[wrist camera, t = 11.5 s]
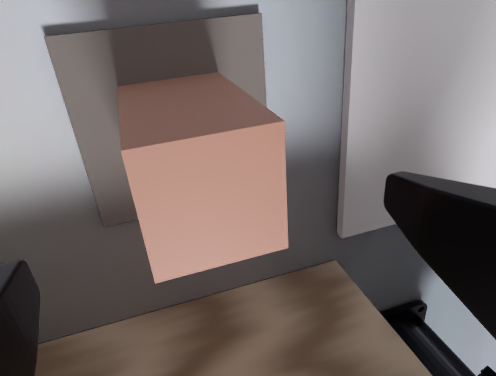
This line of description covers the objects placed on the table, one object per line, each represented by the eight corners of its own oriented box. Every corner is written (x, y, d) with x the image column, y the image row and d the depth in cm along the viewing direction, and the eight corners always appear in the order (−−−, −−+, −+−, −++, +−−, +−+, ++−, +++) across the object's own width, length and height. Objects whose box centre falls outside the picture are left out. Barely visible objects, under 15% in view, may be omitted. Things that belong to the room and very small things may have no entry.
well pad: (258, 12, 15) (261, 13, 15) (268, 187, 19) (270, 189, 19) (45, 36, 13) (43, 36, 13) (104, 224, 17) (104, 227, 17)
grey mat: (659, -245, 15) (677, -253, 15) (524, 182, 25) (532, 186, 25) (359, -270, 12) (370, -282, 12) (336, 232, 22) (342, 238, 21)
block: (218, 71, 15) (284, 121, 9) (228, 160, 17) (288, 247, 11) (117, 86, 14) (120, 150, 8) (140, 178, 16) (155, 283, 10)
